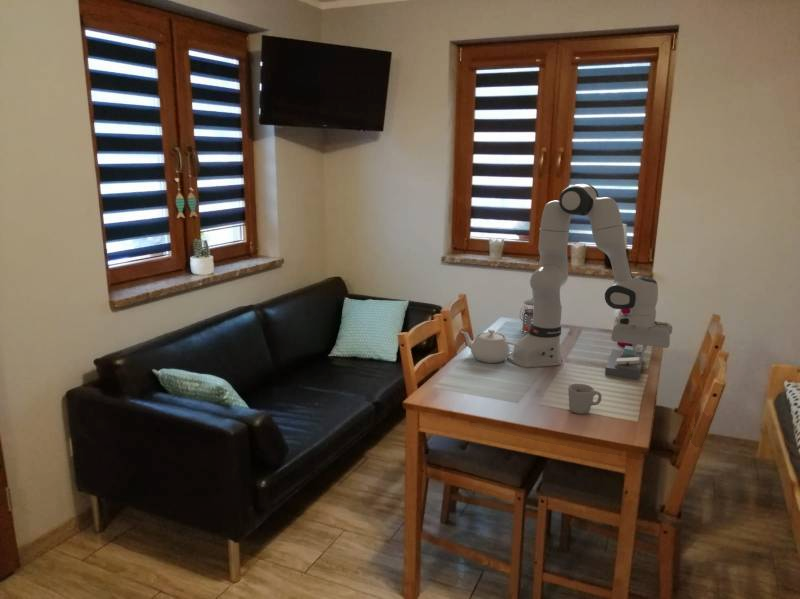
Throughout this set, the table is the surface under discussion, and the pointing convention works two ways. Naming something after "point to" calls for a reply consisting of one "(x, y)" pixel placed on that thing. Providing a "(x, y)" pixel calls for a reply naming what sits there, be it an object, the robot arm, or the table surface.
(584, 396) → the cup
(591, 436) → the table surface
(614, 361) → the control panel
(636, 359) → the rocker switch
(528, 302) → the french press
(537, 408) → the table surface
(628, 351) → the push button
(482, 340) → the teapot
